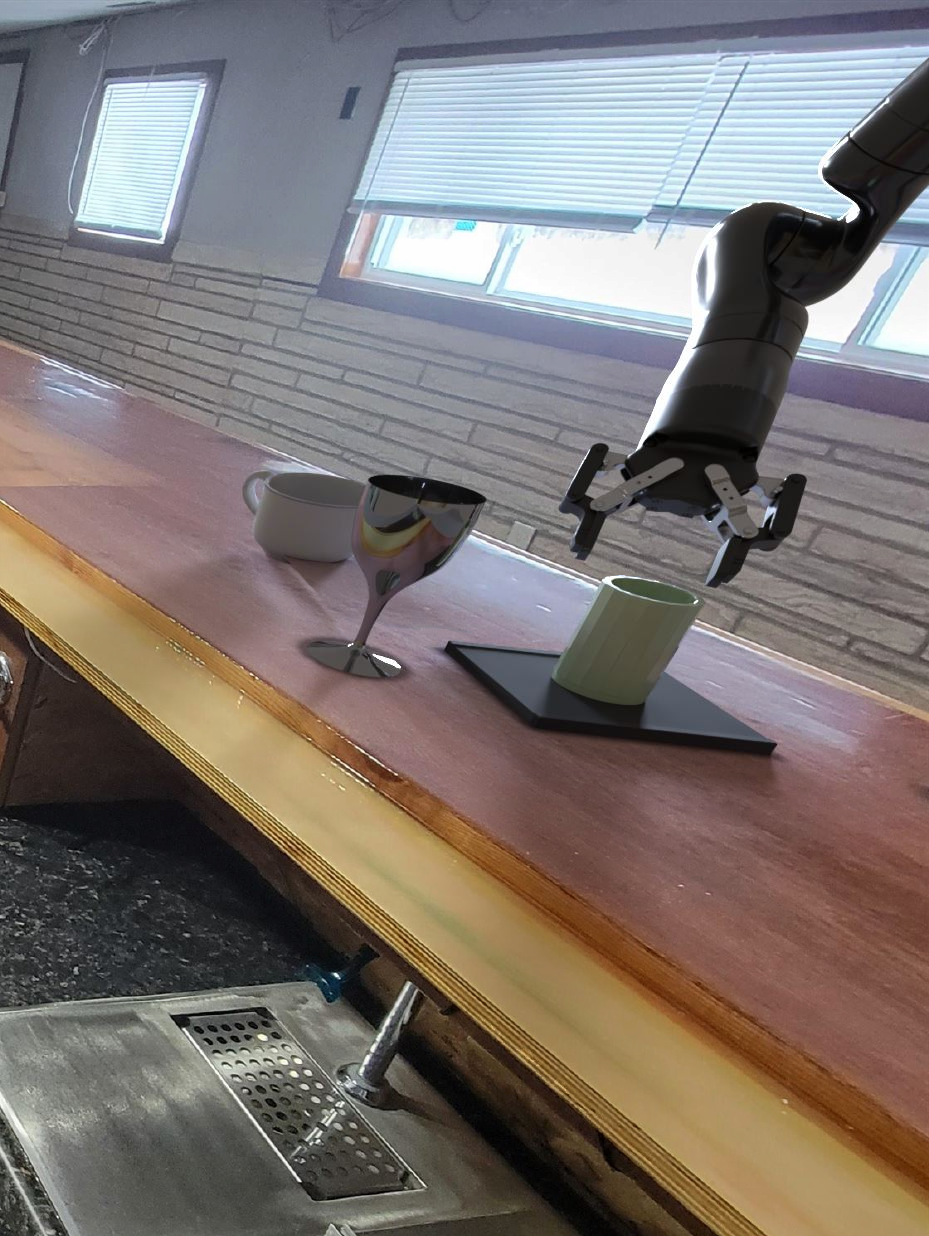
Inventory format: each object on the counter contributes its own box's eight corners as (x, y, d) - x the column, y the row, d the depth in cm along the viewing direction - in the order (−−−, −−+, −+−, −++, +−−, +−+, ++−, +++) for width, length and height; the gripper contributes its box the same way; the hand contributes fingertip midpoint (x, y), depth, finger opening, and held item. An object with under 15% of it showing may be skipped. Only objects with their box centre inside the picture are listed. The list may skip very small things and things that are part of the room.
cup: (614, 675, 84) (669, 580, 79) (664, 709, 78) (726, 609, 74) (535, 667, 84) (586, 572, 80) (579, 700, 79) (636, 601, 75)
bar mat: (644, 672, 87) (651, 661, 86) (769, 756, 75) (778, 743, 74) (443, 651, 89) (448, 640, 88) (533, 729, 77) (540, 716, 76)
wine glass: (392, 648, 89) (467, 482, 81) (419, 687, 82) (503, 510, 75) (292, 633, 91) (356, 469, 84) (311, 669, 84) (382, 495, 77)
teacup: (378, 574, 105) (410, 500, 101) (291, 578, 103) (319, 503, 99) (280, 529, 117) (305, 461, 113) (200, 533, 115) (222, 463, 111)
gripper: (623, 368, 87) (554, 525, 85) (856, 396, 79) (786, 570, 77) (593, 420, 93) (528, 568, 91) (806, 451, 86) (740, 613, 83)
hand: (647, 569), depth 84 cm, fingers open, 8 cm apart
